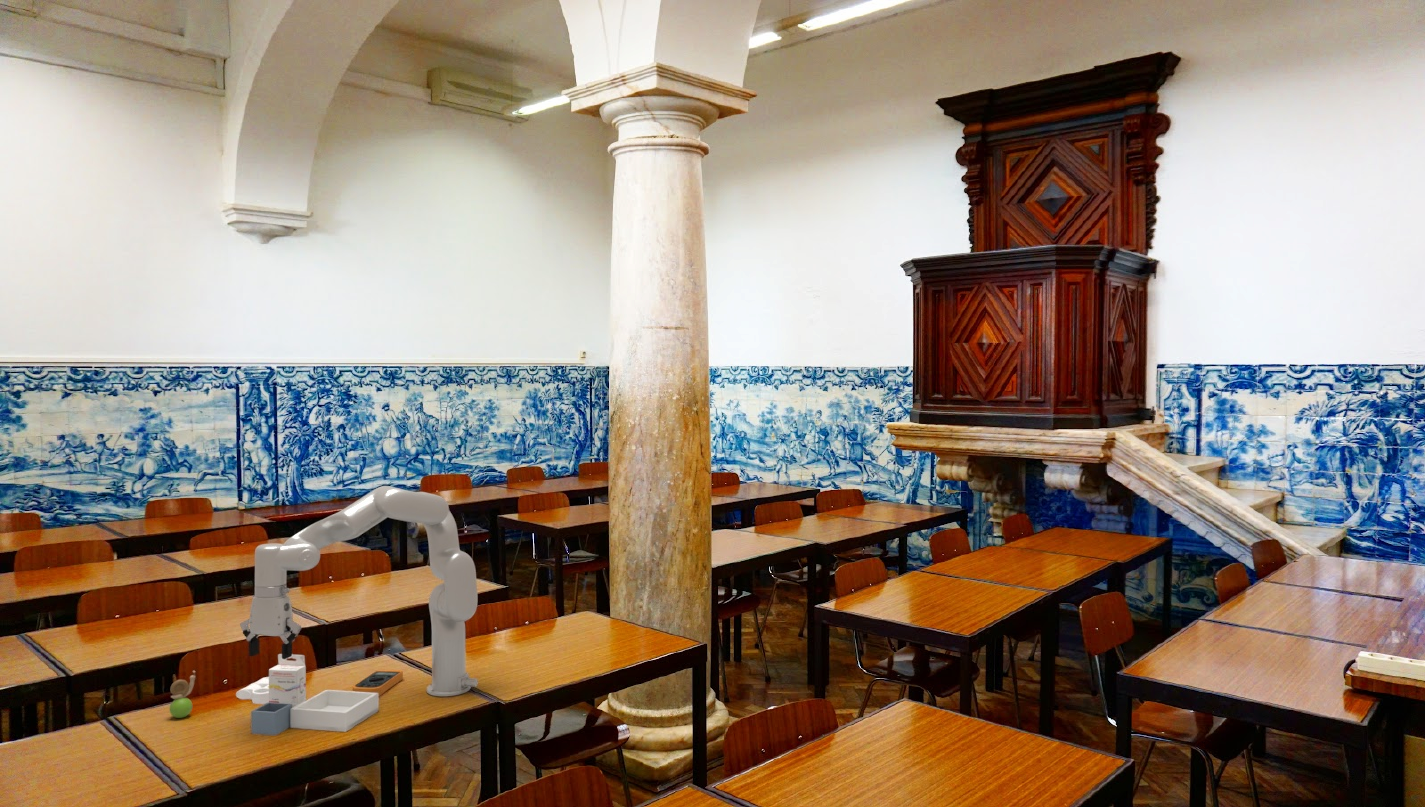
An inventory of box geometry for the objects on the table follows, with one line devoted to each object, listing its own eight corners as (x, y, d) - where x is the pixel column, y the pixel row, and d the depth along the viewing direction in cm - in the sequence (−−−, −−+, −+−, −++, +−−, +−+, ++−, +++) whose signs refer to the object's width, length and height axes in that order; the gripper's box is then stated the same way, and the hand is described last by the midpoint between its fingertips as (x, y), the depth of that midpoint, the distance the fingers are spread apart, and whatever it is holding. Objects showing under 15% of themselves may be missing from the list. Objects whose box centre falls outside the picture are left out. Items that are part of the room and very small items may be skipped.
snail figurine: (199, 716, 258) (198, 672, 257) (173, 722, 253) (172, 678, 253) (192, 711, 261) (191, 668, 261) (166, 717, 257) (166, 673, 256)
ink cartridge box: (268, 711, 261) (267, 658, 261) (278, 705, 266) (277, 653, 266) (297, 712, 260) (296, 659, 260) (306, 706, 265) (306, 654, 265)
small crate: (292, 726, 250) (292, 703, 250) (275, 735, 243) (275, 712, 243) (268, 724, 252) (268, 702, 251) (251, 734, 245) (250, 711, 245)
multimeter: (349, 698, 273) (349, 687, 273) (377, 679, 291) (377, 668, 290) (377, 699, 272) (377, 687, 272) (404, 680, 290) (404, 669, 290)
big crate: (378, 710, 261) (378, 693, 261) (345, 731, 246) (345, 712, 246) (326, 707, 264) (326, 689, 264) (290, 727, 249) (290, 708, 249)
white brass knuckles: (266, 683, 286) (311, 685, 285) (228, 704, 269) (276, 706, 267) (266, 672, 286) (311, 674, 285) (228, 692, 269) (276, 694, 267)
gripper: (309, 590, 249) (308, 654, 249) (251, 586, 253) (251, 650, 253) (290, 596, 242) (290, 662, 242) (231, 592, 245) (231, 658, 245)
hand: (270, 656), depth 247 cm, fingers open, 9 cm apart
